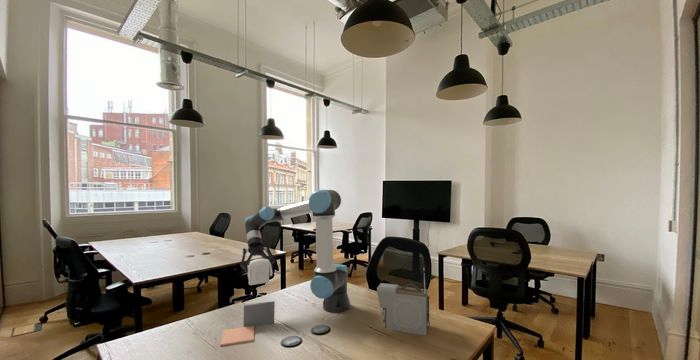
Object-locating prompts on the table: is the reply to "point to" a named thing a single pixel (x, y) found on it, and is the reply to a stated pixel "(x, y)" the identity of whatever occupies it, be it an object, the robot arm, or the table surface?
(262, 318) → the screen
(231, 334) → the display pad
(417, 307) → the portable television
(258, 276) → the photo printer
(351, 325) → the table surface
